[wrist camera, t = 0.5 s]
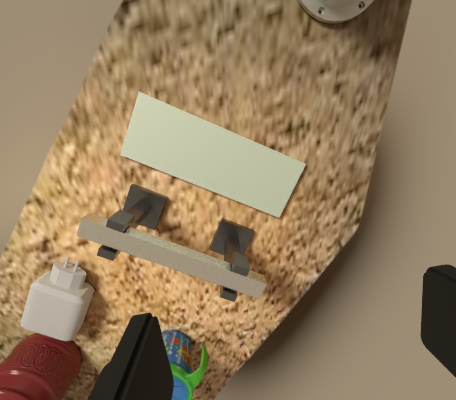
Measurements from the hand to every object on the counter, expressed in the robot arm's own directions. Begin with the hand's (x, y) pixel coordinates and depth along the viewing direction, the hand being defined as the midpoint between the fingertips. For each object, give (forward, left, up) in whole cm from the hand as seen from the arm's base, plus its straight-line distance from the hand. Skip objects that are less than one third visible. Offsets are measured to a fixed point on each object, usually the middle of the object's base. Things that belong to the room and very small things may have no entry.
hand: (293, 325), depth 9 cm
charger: (+32, -20, -34) cm, 51 cm away
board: (0, -4, -34) cm, 34 cm away
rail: (+12, -4, -23) cm, 26 cm away
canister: (+50, -20, -34) cm, 63 cm away
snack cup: (+38, +2, -34) cm, 51 cm away
